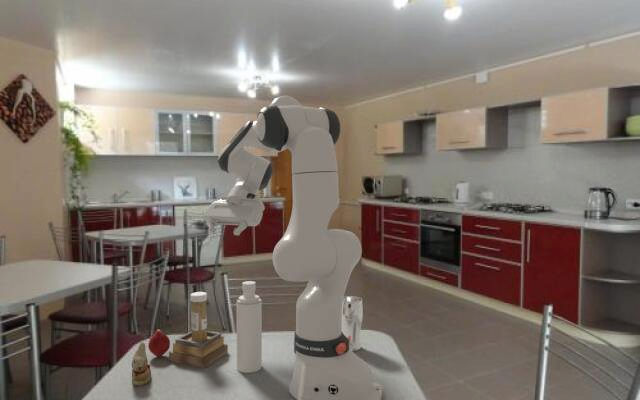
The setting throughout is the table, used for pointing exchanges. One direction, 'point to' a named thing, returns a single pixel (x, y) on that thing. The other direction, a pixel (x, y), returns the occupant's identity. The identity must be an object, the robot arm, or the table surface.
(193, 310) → the sprinkles bottle
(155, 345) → the onion
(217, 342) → the brown wooden square tray
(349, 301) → the beer glass
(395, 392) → the table surface
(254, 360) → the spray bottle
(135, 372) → the chocolate bunny
